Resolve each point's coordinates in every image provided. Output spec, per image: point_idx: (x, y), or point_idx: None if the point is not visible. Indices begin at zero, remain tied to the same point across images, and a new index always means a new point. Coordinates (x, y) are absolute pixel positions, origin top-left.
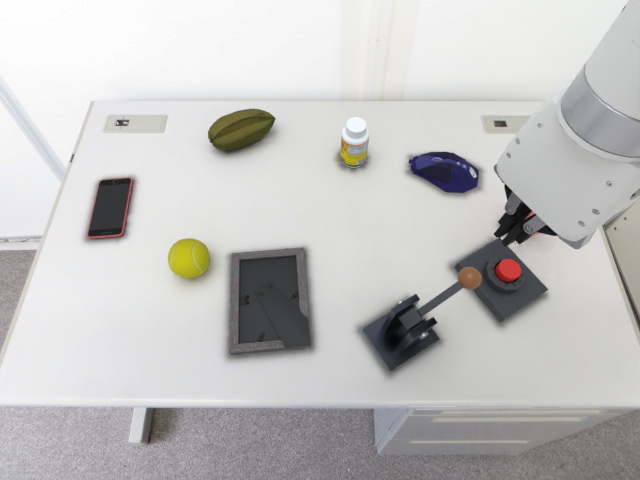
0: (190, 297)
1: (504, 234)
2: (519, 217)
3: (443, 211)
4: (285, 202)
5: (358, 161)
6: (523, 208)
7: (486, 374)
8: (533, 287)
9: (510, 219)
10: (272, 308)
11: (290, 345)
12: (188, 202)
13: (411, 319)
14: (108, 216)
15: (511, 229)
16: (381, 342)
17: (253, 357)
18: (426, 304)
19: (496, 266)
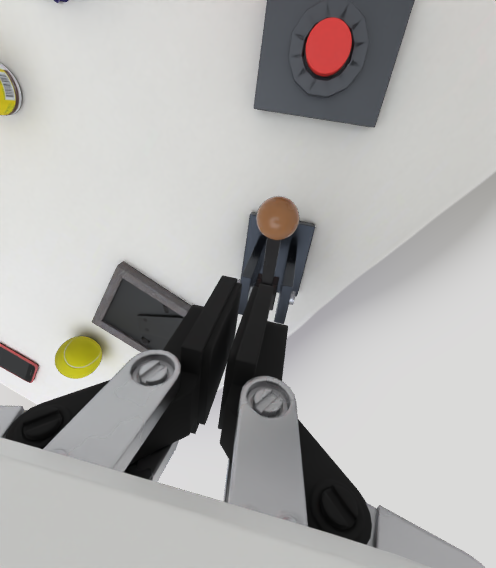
0: (120, 362)
1: (233, 333)
2: (204, 407)
3: (163, 22)
4: (50, 232)
5: (7, 96)
6: (177, 427)
7: (393, 210)
8: (389, 16)
9: (191, 430)
10: (165, 332)
11: None
12: (18, 309)
13: None
14: (14, 364)
15: (233, 324)
16: None
17: None
18: (263, 277)
19: (306, 58)
